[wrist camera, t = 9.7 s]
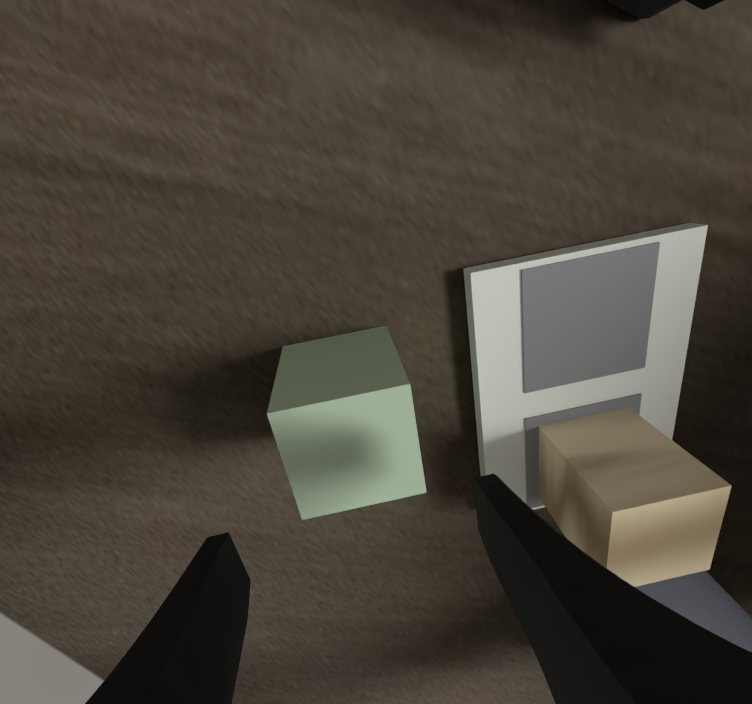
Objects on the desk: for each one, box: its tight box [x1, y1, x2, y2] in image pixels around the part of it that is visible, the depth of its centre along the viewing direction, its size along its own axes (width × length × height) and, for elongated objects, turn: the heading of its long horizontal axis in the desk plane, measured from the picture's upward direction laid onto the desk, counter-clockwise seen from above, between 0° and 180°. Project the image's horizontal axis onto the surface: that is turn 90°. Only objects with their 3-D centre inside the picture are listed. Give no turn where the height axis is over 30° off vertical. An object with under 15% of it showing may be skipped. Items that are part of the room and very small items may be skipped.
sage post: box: [267, 326, 427, 520], centre depth 18 cm, size 5×5×6 cm
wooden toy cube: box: [539, 407, 732, 587], centre depth 20 cm, size 5×5×6 cm
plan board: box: [463, 223, 708, 510], centre depth 21 cm, size 15×11×1 cm
